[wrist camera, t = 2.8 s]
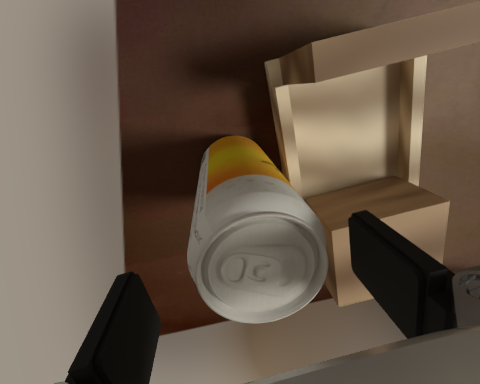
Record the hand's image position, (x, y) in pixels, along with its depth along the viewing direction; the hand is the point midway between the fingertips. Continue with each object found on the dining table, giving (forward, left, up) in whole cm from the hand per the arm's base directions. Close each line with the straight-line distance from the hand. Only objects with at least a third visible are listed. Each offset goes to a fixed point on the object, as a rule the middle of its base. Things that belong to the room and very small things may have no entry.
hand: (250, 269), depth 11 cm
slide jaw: (+8, +11, -13) cm, 19 cm away
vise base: (+2, +11, -14) cm, 18 cm away
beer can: (0, 0, -14) cm, 14 cm away
